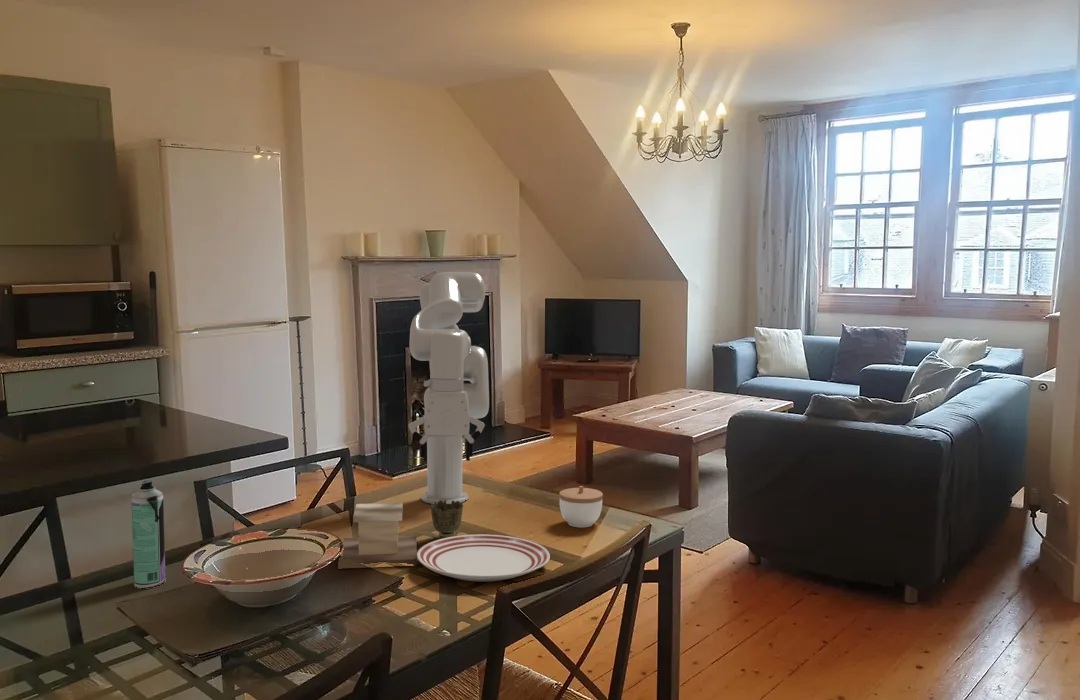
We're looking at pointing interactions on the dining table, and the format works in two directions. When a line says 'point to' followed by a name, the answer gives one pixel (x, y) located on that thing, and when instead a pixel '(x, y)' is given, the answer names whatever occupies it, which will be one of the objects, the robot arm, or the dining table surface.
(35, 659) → the dining table surface
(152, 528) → the spray can
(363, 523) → the cream pedestal stand
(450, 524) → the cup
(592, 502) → the lidded jar
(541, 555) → the dinner plate
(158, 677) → the dining table surface
